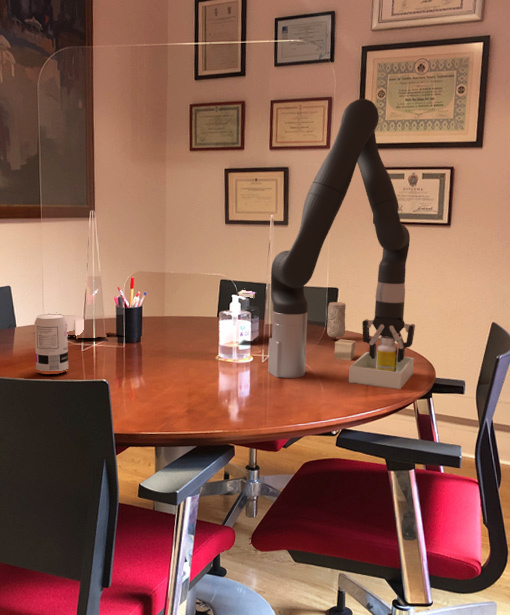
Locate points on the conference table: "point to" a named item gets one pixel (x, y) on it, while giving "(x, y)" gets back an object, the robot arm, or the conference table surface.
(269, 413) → the conference table surface
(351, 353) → the birch cube
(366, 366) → the box
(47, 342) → the supplement can
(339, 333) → the carving
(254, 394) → the conference table surface
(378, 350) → the supplement bottle
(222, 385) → the conference table surface
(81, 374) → the conference table surface
